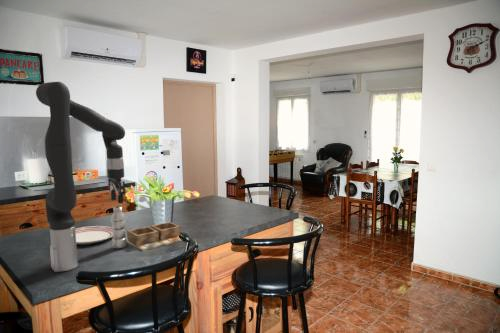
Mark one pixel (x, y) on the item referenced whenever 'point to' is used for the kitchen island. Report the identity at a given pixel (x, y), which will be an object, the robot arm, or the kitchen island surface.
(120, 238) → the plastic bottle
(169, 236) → the socket board
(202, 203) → the kitchen island surface
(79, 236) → the dinner plate
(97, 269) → the kitchen island surface
